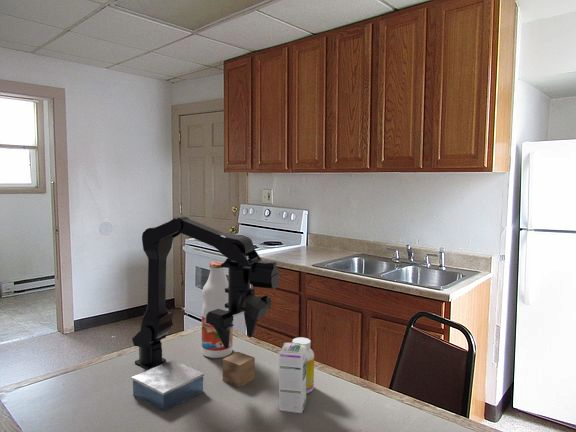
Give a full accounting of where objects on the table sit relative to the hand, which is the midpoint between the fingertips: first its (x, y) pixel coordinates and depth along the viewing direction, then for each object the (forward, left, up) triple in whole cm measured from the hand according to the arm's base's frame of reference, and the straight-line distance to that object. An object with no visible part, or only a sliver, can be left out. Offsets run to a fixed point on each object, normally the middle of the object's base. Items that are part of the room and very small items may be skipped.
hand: (238, 342), depth 113 cm
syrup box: (+19, -2, -10) cm, 22 cm away
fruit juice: (-17, +9, -10) cm, 22 cm away
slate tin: (-9, -16, -11) cm, 21 cm away
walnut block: (0, 0, -10) cm, 10 cm away
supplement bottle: (+16, +6, -10) cm, 20 cm away
